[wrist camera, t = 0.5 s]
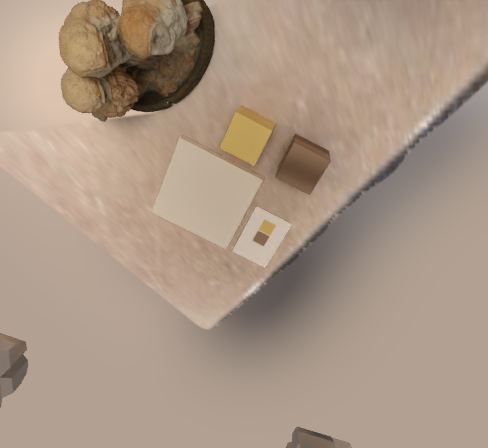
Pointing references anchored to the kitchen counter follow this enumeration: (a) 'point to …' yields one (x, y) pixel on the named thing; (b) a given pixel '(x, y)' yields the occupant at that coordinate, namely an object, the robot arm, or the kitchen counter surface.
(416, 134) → the kitchen counter surface
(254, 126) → the mustard block
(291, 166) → the walnut block
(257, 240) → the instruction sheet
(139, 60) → the three owls sculpture
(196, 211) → the plate
